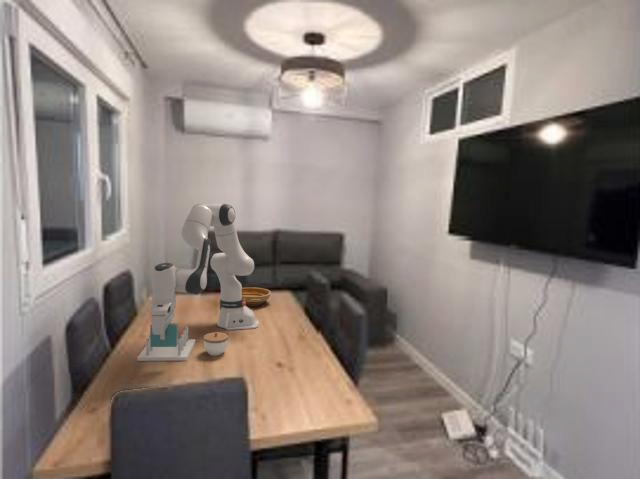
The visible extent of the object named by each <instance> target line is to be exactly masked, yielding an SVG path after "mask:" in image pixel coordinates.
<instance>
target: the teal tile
mask: <svg viewBox="0 0 640 479" xmlns="http://www.w3.org/2000/svg"><path fill="white" fill-rule="evenodd" d="M149 326H150V331H149V332H150V334H149V342H150V345H151V347H177V345H178V339H179V336H178V335H179V333H178V332H179V331H178V330H179V324H178V323H176V322H175V323H172V322H171V323H170V324H169V325H168V327H167V329H166V330H165V334H166V338H165V339H164V340H161V339H160V335H154V334H153V332H152V324H150V325H149Z"/></svg>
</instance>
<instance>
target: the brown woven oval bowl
mask: <svg viewBox="0 0 640 479" xmlns="http://www.w3.org/2000/svg"><path fill="white" fill-rule="evenodd" d="M271 294H272V291H271V290H269V289H268V288H263V287H242V299H243V300H244V299H245V302H246V304H245V306H246V307H257V306H261V304H262V303H264V302H267V301H268V300H269V298H270V296H271Z"/></svg>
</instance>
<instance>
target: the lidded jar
mask: <svg viewBox="0 0 640 479" xmlns="http://www.w3.org/2000/svg"><path fill="white" fill-rule="evenodd" d="M228 341H229V335H228V334H227V333H225V332H221V331H220V332H219V331H215V332H208V333H206V334H204V335H203V346H204V349H205V351H206V353H207V354H208V355H209V356H212V357H213V356H215V357H216V356H220V355H222V354H223V353H224V352H225V351H226V350H227V347H228V343H229V342H228Z"/></svg>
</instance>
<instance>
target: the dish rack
mask: <svg viewBox="0 0 640 479" xmlns="http://www.w3.org/2000/svg"><path fill="white" fill-rule="evenodd" d="M145 342H146V343H145V345H146V346H144V348H143V349H142V351H141V352H140V353H139V355H137V357H136V361H137V362H139V361H140V362H143V361H144V362H146V361H148V362H149V361H150V362H151V361H153V362H155V361H156V362H157V361H158V362H159V361H160V362H161V361H163V362H164V361H167V362H168V361H169V362H170V361H171V362H173V361H175V362H176V361H178V362H179V361H181V362H182V361H184V362H185V361H188V359H189V358H190V357H189V356H190V354H191V352H192V350H193V348H194V347H195V344H196V338H195V339H192V338H191V339H189V326H185V330H183V331H182V334H180V338H178V345H177V347H151V345H150V338H146V341H145Z"/></svg>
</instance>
